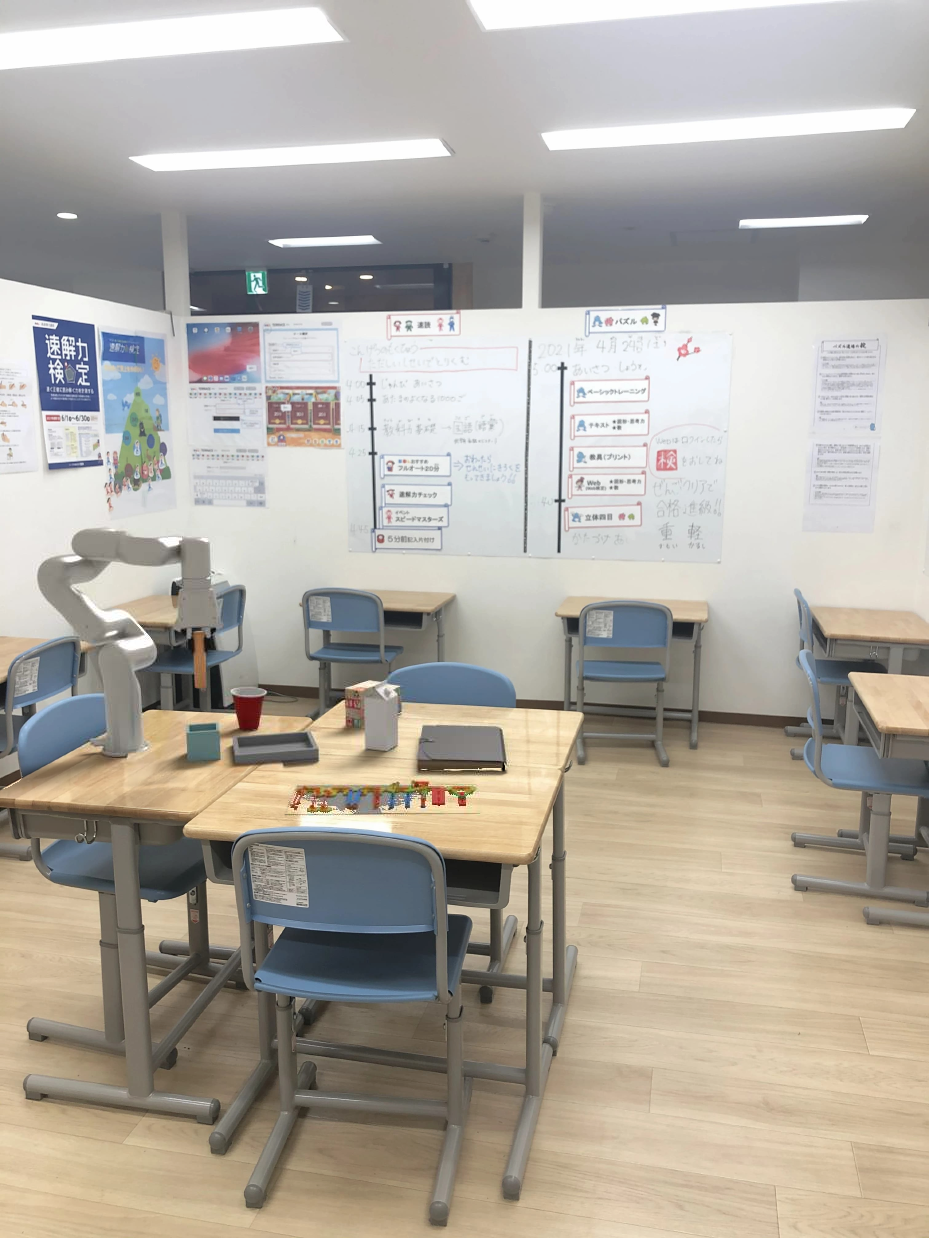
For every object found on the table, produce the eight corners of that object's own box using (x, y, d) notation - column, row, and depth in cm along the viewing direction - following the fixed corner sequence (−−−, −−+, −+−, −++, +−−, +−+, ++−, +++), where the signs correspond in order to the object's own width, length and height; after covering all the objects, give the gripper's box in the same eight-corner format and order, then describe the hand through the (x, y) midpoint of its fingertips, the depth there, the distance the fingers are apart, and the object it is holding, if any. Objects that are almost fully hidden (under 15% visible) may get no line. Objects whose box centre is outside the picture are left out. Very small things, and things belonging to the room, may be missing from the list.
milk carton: (364, 749, 262) (363, 684, 259) (376, 742, 268) (375, 678, 265) (387, 752, 259) (386, 686, 256) (398, 745, 266) (397, 680, 263)
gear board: (476, 777, 232) (479, 805, 213) (476, 786, 232) (479, 815, 213) (296, 778, 231) (284, 806, 212) (297, 787, 231) (284, 816, 212)
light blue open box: (187, 765, 247) (186, 733, 245) (187, 755, 255) (186, 724, 253) (220, 762, 249) (219, 730, 248) (219, 753, 257) (218, 722, 256)
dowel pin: (195, 688, 247) (192, 633, 244) (194, 685, 250) (192, 631, 247) (206, 687, 248) (204, 632, 245) (206, 685, 250) (204, 631, 248)
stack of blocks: (386, 711, 304) (386, 674, 302) (402, 713, 300) (401, 676, 298) (345, 725, 286) (344, 687, 284) (361, 729, 283) (360, 690, 281)
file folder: (422, 723, 275) (502, 725, 275) (421, 737, 276) (502, 738, 276) (415, 757, 242) (507, 759, 242) (415, 772, 243) (507, 774, 243)
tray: (235, 768, 245) (235, 755, 244) (232, 748, 262) (232, 736, 261) (318, 761, 251) (318, 748, 250) (310, 742, 268) (310, 730, 267)
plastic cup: (263, 733, 277) (262, 694, 275) (227, 733, 277) (226, 694, 275) (271, 723, 288) (270, 686, 286) (237, 723, 288) (235, 685, 286)
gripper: (163, 586, 238) (167, 656, 241) (228, 585, 243) (231, 653, 246) (164, 583, 245) (167, 651, 248) (227, 581, 250) (230, 648, 253)
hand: (199, 651), depth 247 cm, fingers closed on dowel pin, 3 cm apart
